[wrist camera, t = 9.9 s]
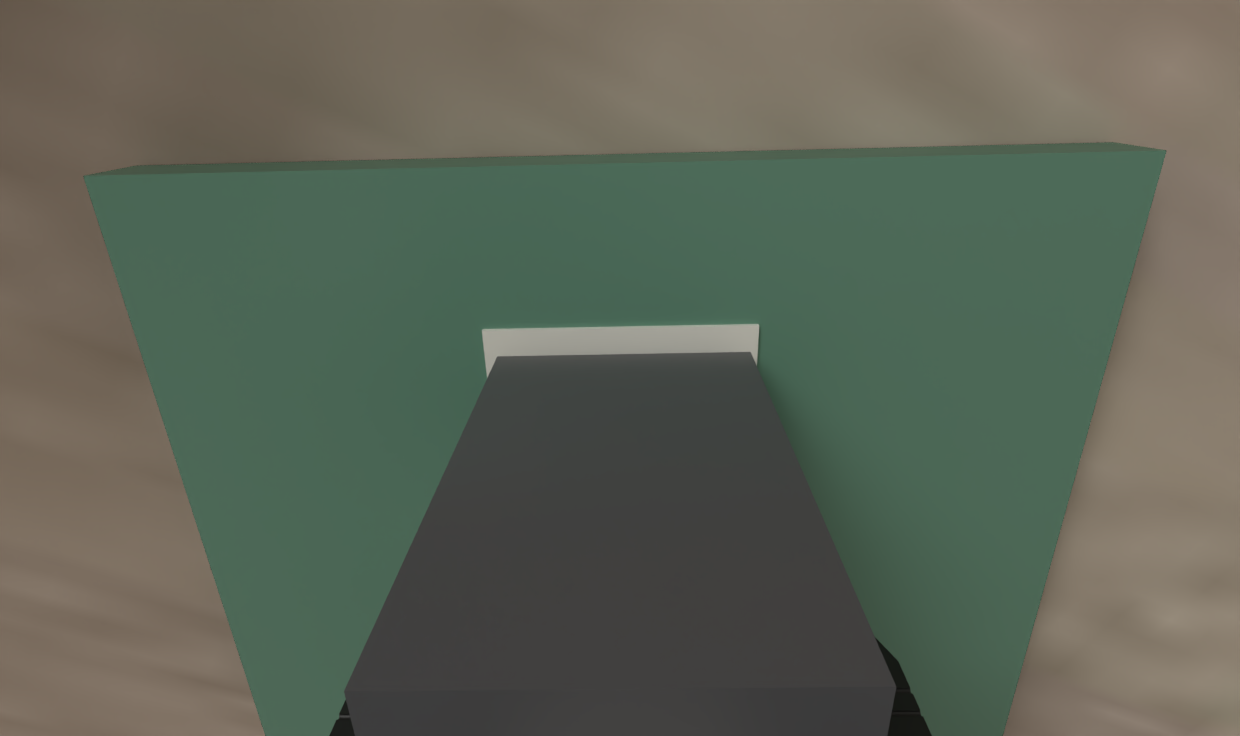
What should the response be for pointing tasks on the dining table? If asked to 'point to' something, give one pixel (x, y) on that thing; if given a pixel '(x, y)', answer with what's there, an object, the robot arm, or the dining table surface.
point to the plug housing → (622, 569)
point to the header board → (634, 324)
